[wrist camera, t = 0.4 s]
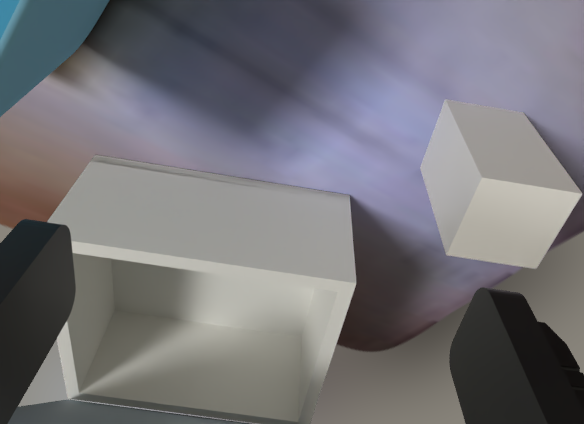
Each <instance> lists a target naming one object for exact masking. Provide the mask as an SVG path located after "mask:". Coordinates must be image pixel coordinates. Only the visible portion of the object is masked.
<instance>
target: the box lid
mask: <svg viewBox="0 0 584 424" xmlns="http://www.w3.org/2000/svg"><path fill="white" fill-rule="evenodd" d="M8 424H249V423H241V422H233V421H226V420H218V419H211V418H202V417H195V416H188V415H180V414H173V413H165V412H158V411H150V410H142V409H135V408H127V407H119V406H112V405H104V404H96V403H88V402H81V401H74V400H61V401H55V402H48V403H41V404H35V405H28V406H21V407H17V408H16V410H15V412H14V413H13V415H12V417H11V419H10V420H9V422H8Z"/></svg>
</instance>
